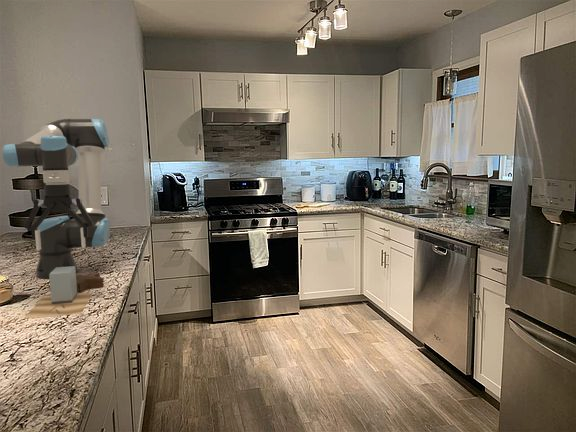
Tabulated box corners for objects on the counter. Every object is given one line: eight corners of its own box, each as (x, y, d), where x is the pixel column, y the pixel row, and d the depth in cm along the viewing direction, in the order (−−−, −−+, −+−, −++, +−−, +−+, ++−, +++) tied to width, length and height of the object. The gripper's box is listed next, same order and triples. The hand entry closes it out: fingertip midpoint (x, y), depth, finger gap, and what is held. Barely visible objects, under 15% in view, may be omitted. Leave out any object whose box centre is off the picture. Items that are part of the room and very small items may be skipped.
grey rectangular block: (58, 295, 156) (56, 267, 155) (77, 294, 158) (75, 266, 156) (51, 304, 148) (49, 274, 146) (71, 302, 149) (69, 272, 148)
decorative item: (70, 286, 156) (50, 273, 165) (70, 302, 157) (51, 289, 166) (113, 276, 168) (92, 265, 177) (112, 291, 169) (92, 279, 178)
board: (43, 297, 156) (43, 296, 156) (93, 293, 160) (93, 292, 160) (23, 320, 135) (22, 318, 135) (81, 315, 139) (81, 313, 139)
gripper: (9, 185, 142) (15, 252, 144) (96, 183, 148) (100, 247, 150) (17, 184, 149) (23, 248, 151) (99, 182, 155) (103, 244, 157)
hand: (61, 248), depth 151 cm, fingers open, 13 cm apart
